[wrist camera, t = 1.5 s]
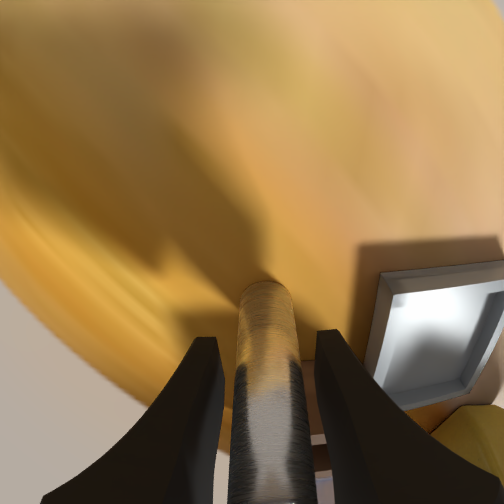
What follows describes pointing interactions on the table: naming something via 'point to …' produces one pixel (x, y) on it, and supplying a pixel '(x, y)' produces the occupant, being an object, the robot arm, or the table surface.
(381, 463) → the robot arm
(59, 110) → the table surface
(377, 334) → the tray
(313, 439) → the walnut block
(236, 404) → the cylinder
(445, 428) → the flower pot
